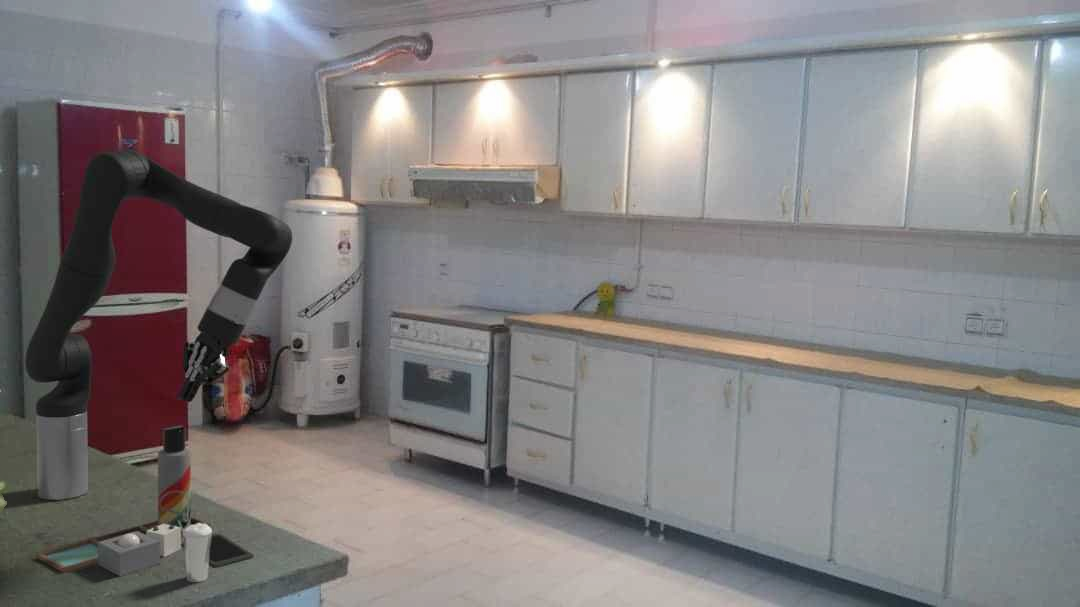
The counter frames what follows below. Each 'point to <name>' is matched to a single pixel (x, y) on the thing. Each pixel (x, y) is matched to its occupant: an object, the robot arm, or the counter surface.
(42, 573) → the counter surface
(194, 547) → the milkshake
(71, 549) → the track
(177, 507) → the lotion bottle
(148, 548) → the button box
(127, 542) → the dome
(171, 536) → the die
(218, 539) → the cell phone
